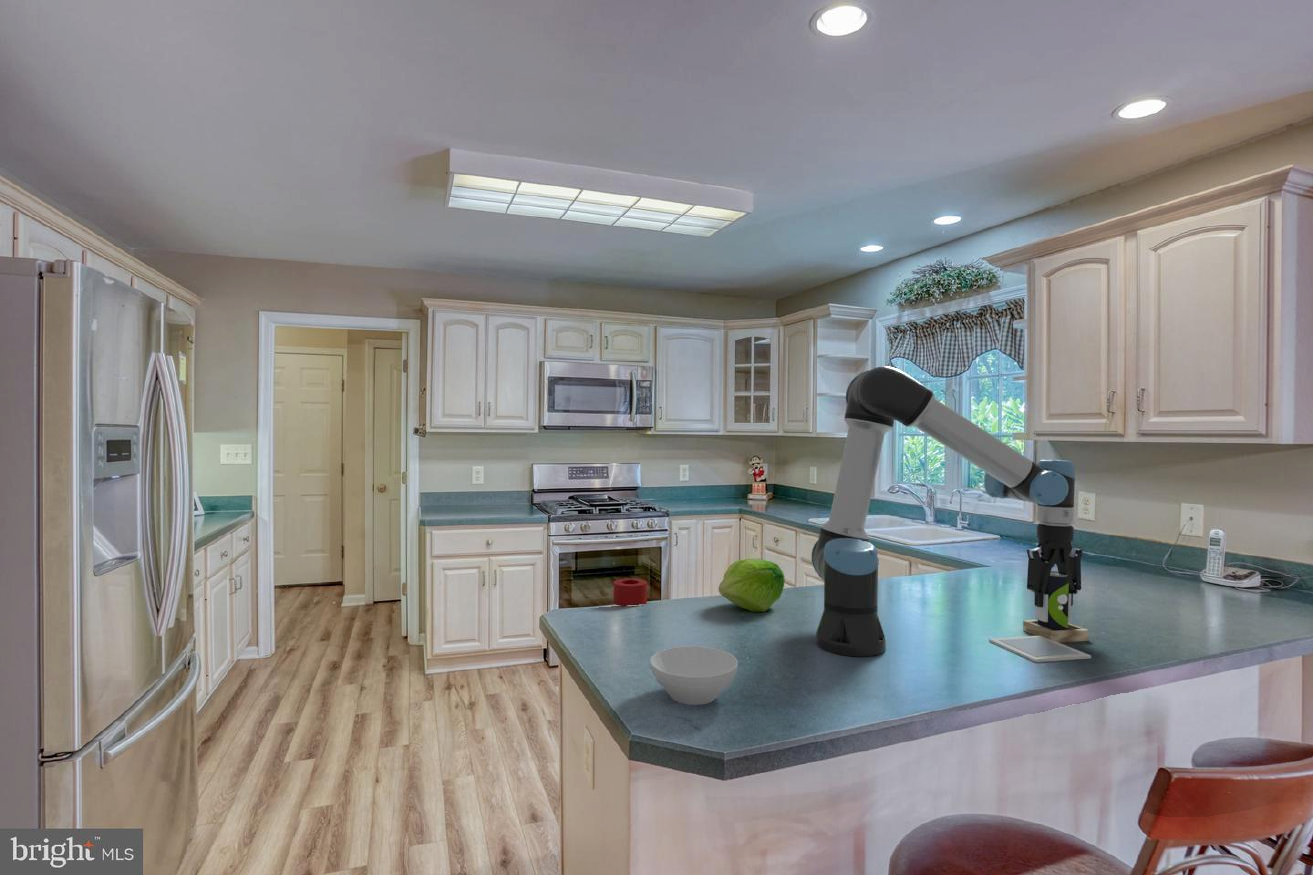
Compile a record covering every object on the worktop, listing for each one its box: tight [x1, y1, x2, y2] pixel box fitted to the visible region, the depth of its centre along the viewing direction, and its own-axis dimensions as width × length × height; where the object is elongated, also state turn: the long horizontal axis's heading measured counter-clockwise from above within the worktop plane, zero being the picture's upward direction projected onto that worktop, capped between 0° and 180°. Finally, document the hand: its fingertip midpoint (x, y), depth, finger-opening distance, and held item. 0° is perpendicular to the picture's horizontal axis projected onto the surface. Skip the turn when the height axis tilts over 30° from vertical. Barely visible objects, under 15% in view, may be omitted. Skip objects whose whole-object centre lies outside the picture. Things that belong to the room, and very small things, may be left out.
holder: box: [1022, 619, 1090, 644], centre depth 153 cm, size 10×10×2 cm
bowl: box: [649, 645, 739, 706], centre depth 116 cm, size 16×16×7 cm
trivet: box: [988, 635, 1092, 663], centre depth 143 cm, size 14×14×1 cm
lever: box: [613, 577, 648, 608], centre depth 183 cm, size 18×9×7 cm, turn 175°
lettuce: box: [717, 558, 786, 613], centre depth 175 cm, size 15×20×14 cm
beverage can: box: [1037, 570, 1069, 631], centre depth 154 cm, size 6×6×15 cm
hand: (1053, 619), depth 153 cm, fingers closed on beverage can, 6 cm apart
